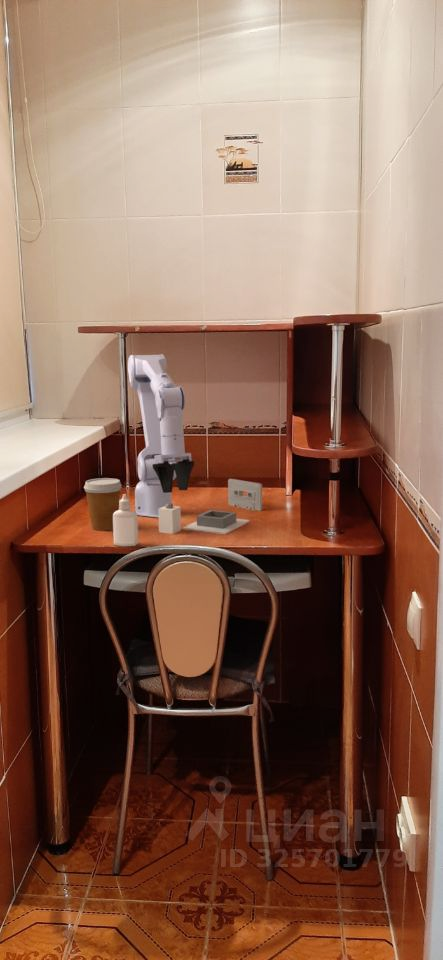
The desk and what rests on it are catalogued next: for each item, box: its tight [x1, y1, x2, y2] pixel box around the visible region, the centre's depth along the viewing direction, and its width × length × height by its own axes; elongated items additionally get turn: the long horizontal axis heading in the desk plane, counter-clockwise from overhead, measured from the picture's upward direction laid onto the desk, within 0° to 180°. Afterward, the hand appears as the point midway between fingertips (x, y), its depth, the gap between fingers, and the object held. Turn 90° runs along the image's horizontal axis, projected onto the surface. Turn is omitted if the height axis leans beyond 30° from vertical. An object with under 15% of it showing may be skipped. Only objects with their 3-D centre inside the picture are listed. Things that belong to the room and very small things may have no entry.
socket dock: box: [182, 509, 251, 535], centre depth 197 cm, size 12×14×3 cm
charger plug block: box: [158, 502, 182, 535], centre depth 192 cm, size 4×4×7 cm
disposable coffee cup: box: [83, 477, 123, 531], centre depth 196 cm, size 10×10×12 cm
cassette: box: [227, 478, 263, 512], centre depth 216 cm, size 12×2×8 cm, turn 47°
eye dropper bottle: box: [112, 493, 139, 547], centre depth 180 cm, size 4×6×12 cm
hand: (175, 491), depth 191 cm, fingers open, 7 cm apart
